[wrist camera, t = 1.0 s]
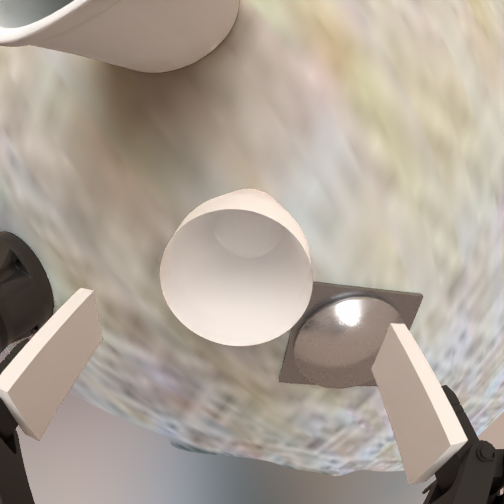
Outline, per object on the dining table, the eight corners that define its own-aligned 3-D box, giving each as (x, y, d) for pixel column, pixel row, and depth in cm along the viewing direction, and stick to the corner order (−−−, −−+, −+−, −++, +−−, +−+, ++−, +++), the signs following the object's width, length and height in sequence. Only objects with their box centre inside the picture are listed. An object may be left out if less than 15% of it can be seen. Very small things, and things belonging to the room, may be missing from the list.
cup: (317, 218, 27) (349, 276, 16) (255, 285, 30) (247, 369, 19) (240, 154, 25) (218, 168, 14) (182, 229, 28) (131, 290, 17)
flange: (279, 378, 35) (279, 387, 33) (302, 280, 30) (304, 288, 28) (380, 382, 35) (383, 391, 33) (421, 293, 29) (426, 300, 28)
